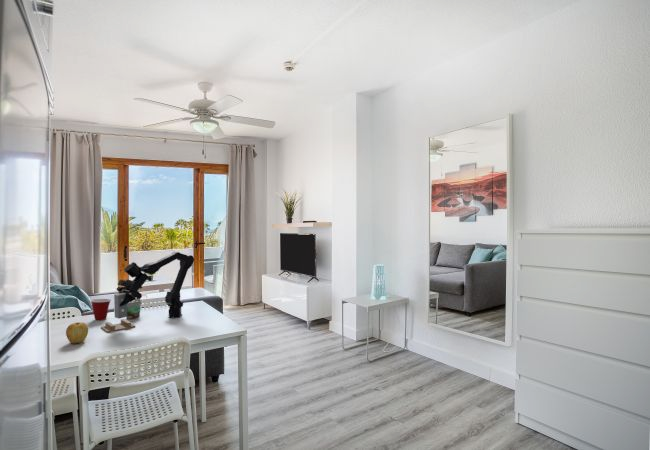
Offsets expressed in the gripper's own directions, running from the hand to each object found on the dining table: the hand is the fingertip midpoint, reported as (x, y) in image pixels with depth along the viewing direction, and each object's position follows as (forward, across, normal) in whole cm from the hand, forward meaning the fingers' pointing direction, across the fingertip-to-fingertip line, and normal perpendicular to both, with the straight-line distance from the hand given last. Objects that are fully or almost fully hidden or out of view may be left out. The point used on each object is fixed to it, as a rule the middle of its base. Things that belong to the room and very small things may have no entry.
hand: (118, 305), depth 203 cm
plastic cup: (+7, -31, +12) cm, 34 cm away
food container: (-3, -18, +23) cm, 30 cm away
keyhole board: (+8, -4, +11) cm, 14 cm away
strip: (+4, 0, +6) cm, 7 cm away
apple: (+25, +5, -6) cm, 26 cm away
